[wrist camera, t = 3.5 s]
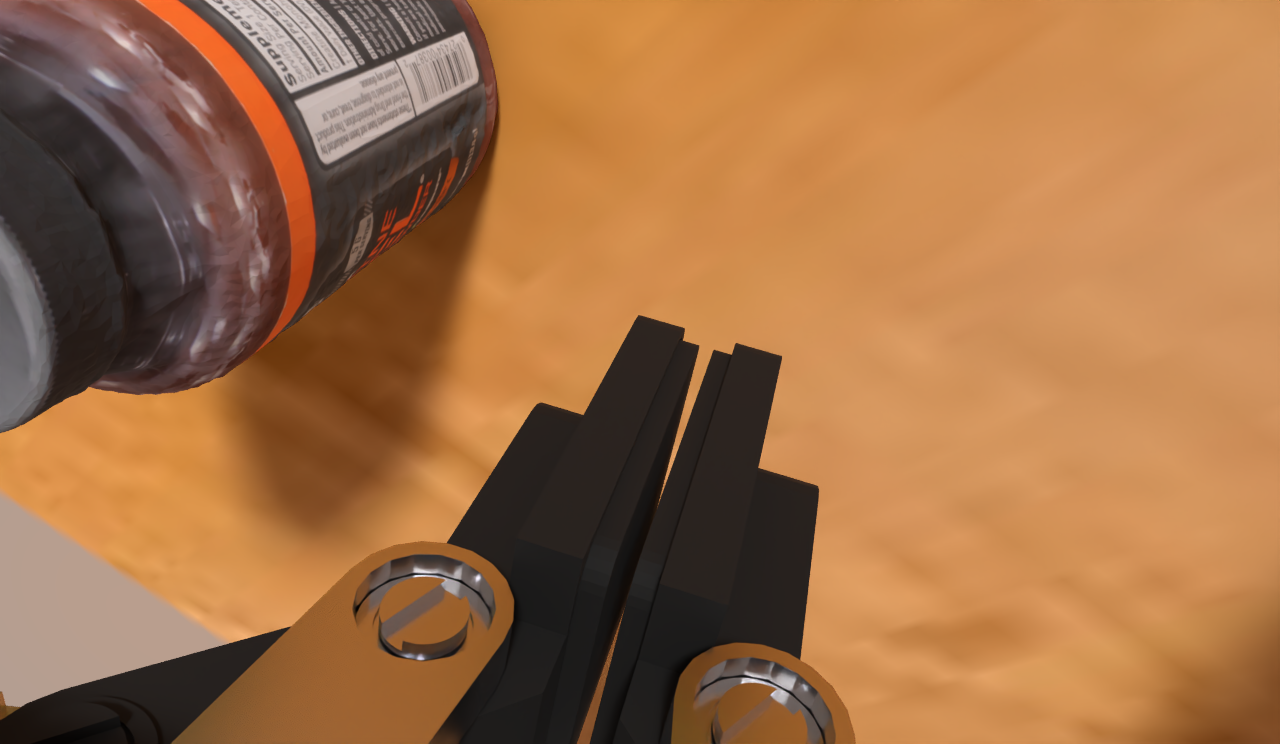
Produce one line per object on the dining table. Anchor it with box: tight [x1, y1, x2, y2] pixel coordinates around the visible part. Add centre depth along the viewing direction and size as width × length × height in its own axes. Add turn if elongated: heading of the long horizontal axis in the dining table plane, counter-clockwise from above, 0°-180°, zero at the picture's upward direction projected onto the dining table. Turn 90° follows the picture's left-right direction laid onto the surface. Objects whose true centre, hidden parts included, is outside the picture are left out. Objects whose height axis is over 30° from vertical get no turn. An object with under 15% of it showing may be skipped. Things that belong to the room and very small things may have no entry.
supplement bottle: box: [0, 0, 498, 433], centre depth 15 cm, size 6×6×11 cm
